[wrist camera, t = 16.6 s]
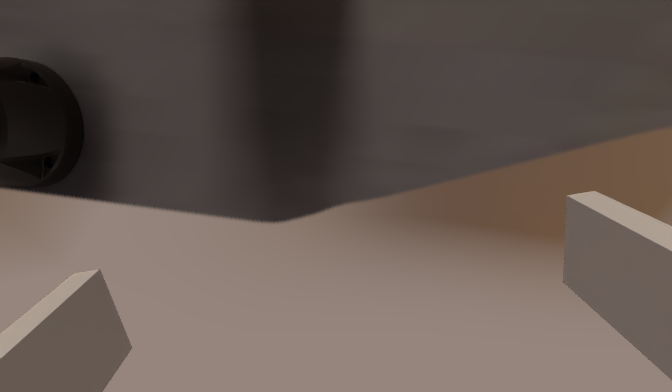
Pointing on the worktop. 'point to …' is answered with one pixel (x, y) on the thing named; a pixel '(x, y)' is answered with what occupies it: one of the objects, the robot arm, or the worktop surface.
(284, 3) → the worktop surface
